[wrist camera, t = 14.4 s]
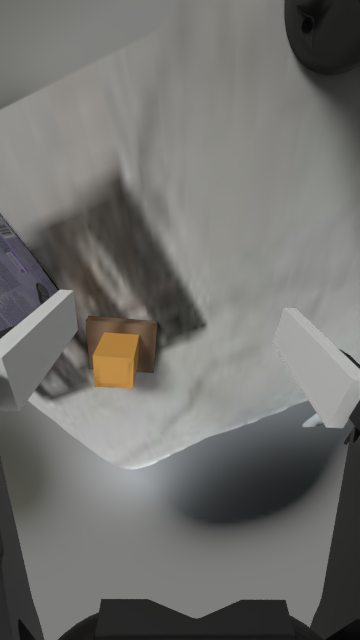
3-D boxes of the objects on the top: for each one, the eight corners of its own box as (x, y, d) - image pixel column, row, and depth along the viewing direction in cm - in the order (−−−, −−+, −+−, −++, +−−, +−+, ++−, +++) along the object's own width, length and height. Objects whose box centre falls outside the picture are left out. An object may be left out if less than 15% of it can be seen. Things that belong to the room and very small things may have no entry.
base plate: (157, 321, 49) (157, 326, 47) (154, 367, 55) (153, 372, 53) (88, 315, 48) (85, 320, 46) (92, 363, 53) (89, 368, 52)
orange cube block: (139, 334, 48) (133, 358, 41) (138, 362, 51) (133, 388, 44) (104, 332, 48) (92, 355, 41) (105, 360, 51) (94, 386, 44)
